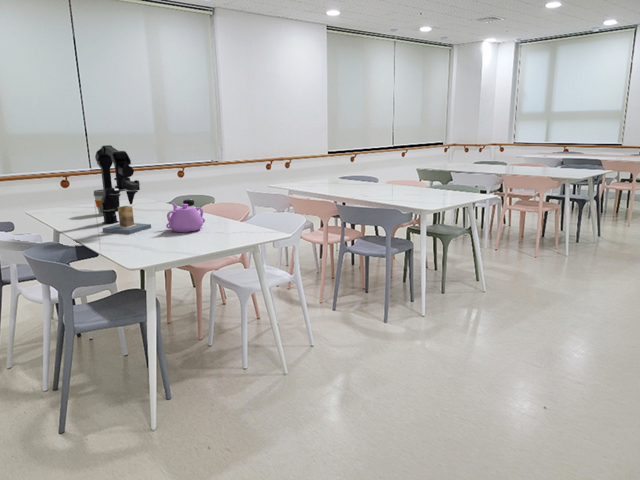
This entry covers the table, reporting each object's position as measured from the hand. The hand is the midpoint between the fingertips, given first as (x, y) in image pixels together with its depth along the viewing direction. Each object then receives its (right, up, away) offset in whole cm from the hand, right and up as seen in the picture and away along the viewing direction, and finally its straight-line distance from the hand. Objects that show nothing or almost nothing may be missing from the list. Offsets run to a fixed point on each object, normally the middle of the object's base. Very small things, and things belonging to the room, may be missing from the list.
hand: (124, 205), depth 258 cm
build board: (0, -13, +3) cm, 13 cm away
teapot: (+31, -13, +2) cm, 33 cm away
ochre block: (0, -6, +1) cm, 6 cm away
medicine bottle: (+27, -7, +27) cm, 39 cm away
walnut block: (0, -10, +2) cm, 11 cm away
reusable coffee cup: (-32, -2, +52) cm, 61 cm away
